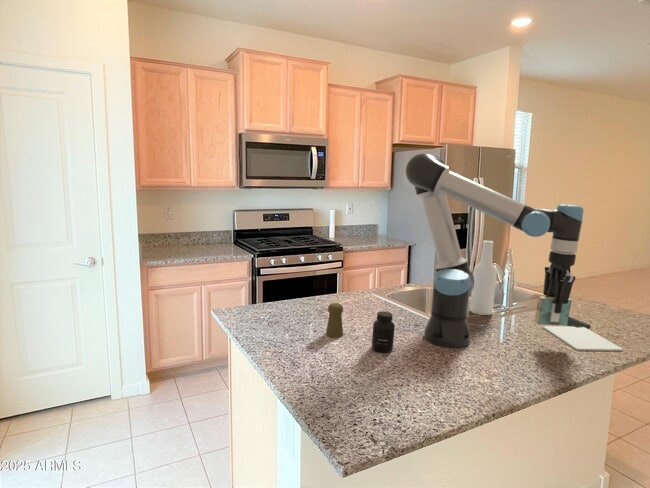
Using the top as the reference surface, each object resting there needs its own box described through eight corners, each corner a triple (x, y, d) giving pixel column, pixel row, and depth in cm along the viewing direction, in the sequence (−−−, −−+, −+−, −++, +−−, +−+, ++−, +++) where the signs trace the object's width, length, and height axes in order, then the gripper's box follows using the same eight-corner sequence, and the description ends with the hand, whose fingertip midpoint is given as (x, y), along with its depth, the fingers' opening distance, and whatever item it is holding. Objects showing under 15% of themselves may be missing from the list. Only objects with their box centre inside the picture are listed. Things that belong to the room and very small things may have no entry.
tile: (538, 324, 139) (542, 298, 137) (534, 321, 141) (538, 296, 139) (567, 325, 139) (571, 300, 137) (562, 322, 142) (567, 297, 140)
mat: (576, 350, 136) (576, 348, 136) (542, 327, 156) (542, 326, 156) (623, 350, 137) (623, 349, 137) (583, 328, 157) (583, 326, 157)
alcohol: (492, 317, 165) (500, 243, 160) (469, 314, 168) (476, 241, 163) (491, 310, 174) (499, 240, 168) (469, 307, 176) (476, 238, 171)
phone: (558, 312, 172) (591, 325, 158) (557, 315, 172) (591, 328, 158) (543, 314, 169) (576, 327, 155) (543, 316, 169) (576, 330, 156)
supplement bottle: (379, 355, 128) (381, 318, 125) (367, 347, 134) (369, 311, 131) (397, 351, 131) (400, 315, 129) (384, 343, 137) (387, 308, 135)
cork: (346, 333, 144) (347, 303, 142) (339, 339, 139) (340, 308, 137) (330, 329, 147) (331, 300, 145) (322, 335, 141) (324, 305, 139)
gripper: (589, 257, 128) (576, 329, 132) (559, 247, 143) (548, 312, 148) (566, 256, 128) (554, 328, 132) (538, 246, 143) (528, 311, 147)
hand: (551, 319), depth 140 cm, fingers closed on tile, 2 cm apart
